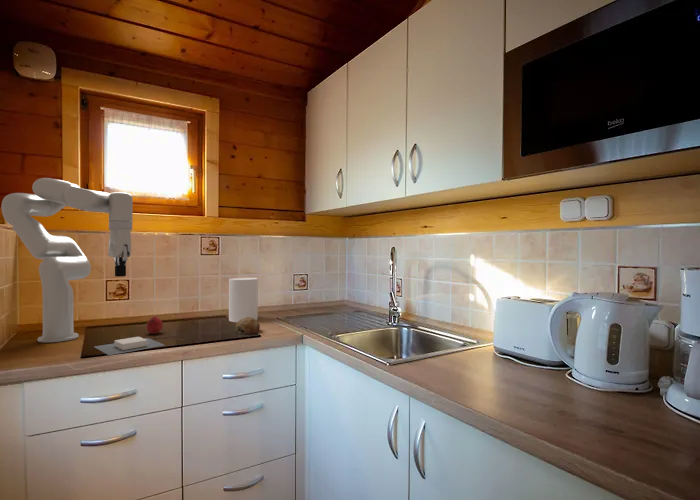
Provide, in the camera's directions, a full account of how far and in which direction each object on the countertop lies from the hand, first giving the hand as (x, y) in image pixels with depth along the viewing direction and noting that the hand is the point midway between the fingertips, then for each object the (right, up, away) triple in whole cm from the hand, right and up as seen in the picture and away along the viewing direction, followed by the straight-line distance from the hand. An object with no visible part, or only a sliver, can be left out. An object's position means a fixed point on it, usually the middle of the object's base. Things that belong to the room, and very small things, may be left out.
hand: (120, 276), depth 146 cm
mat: (+7, -25, -6) cm, 26 cm away
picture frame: (+5, -23, -4) cm, 24 cm away
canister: (+32, -25, +48) cm, 63 cm away
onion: (+6, -25, +14) cm, 29 cm away
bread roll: (+41, -25, +21) cm, 53 cm away
